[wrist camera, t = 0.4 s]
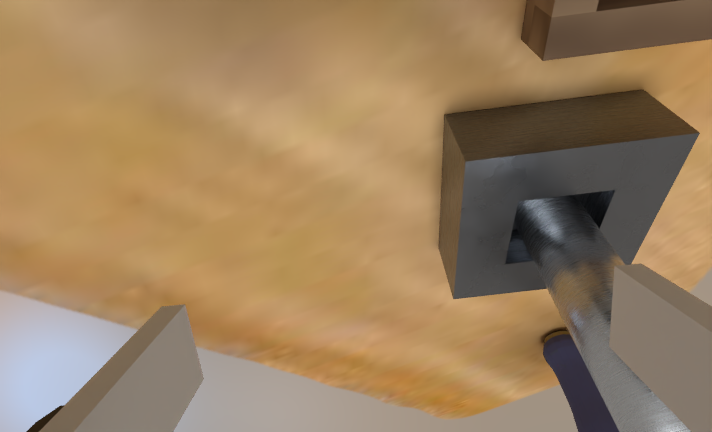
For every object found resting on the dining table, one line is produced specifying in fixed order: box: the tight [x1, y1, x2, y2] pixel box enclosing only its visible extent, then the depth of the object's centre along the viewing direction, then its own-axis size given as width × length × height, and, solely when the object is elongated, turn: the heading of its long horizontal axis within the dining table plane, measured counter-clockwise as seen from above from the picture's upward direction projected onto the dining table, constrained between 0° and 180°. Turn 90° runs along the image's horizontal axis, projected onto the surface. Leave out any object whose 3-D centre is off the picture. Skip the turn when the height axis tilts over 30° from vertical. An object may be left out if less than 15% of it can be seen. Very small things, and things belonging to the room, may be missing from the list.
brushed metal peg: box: [514, 195, 691, 432], centre depth 22 cm, size 4×4×16 cm
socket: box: [439, 90, 700, 299], centre depth 27 cm, size 12×12×5 cm
